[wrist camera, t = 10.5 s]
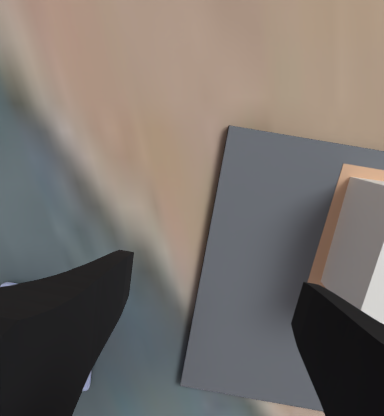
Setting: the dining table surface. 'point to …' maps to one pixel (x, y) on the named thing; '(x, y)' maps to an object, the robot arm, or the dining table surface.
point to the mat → (267, 261)
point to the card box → (359, 249)
